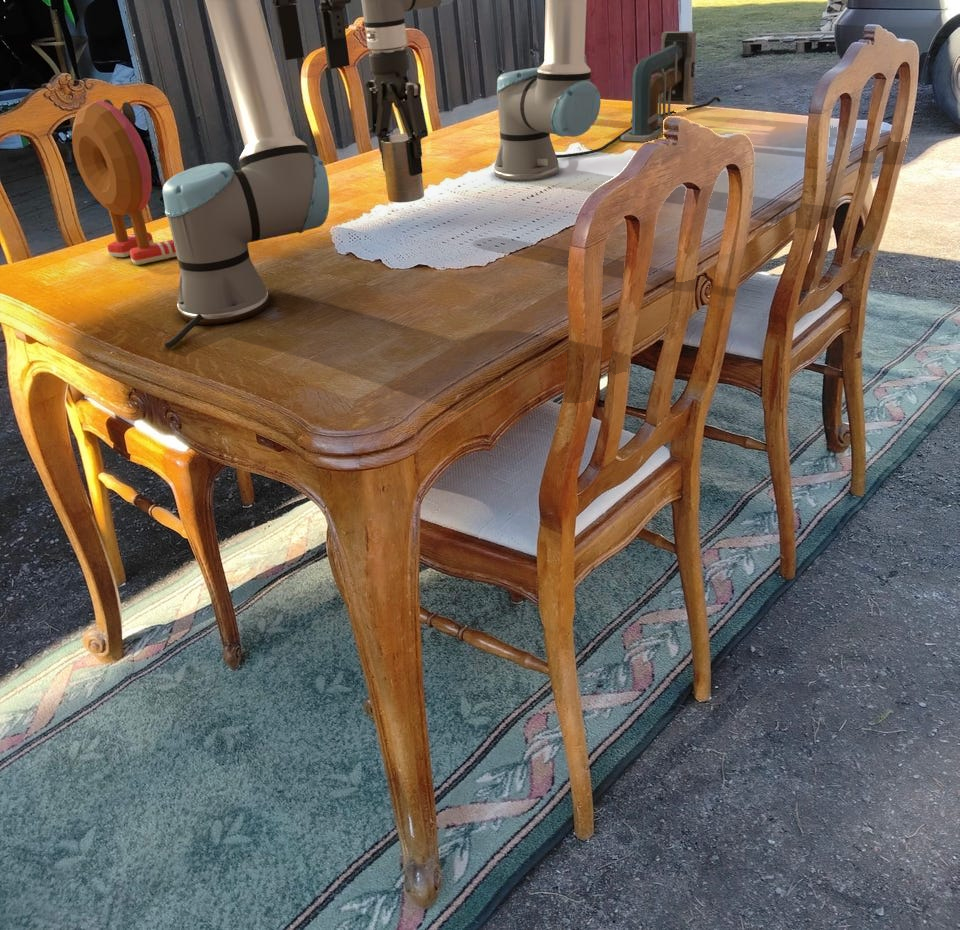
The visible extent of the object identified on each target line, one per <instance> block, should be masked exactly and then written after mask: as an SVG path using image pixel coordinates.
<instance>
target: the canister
mask: <svg viewBox="0 0 960 930" xmlns="http://www.w3.org/2000/svg"><path fill="white" fill-rule="evenodd" d="M389 135H390V136H388V135H387V136H386V137H384V138H382V139H381V147H382V154H383V162H384V169H385V171H384V176H385V184H386V191H387V199H388V201H389V202H392V203H399V204H400V203H401V204H402V203H411V202H416V201H418V200H419V201H420V200H421V199H423V198H424V197H425V189H424V180H423V173H420V174H417V175H414V176H410V169H409V161H408V153H407V144H406V142H407V141H406V140H408V139H409V138H408V135H407V133H396V134H389Z"/></svg>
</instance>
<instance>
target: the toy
mask: <svg viewBox="0 0 960 930" xmlns="http://www.w3.org/2000/svg"><path fill="white" fill-rule="evenodd" d="M121 109H122V111H121V110H120V109H118V108H117V107H115V106H114V104H113V103H112V101H111V100H110V99H108V98H106V99H104V100H100V99H97V100H95V101H93V102H91V103H88V104H86V105H85V106H83V107H81V108H80V109H78V110H77V111H76V114H75V116H74V117H75V118H74V120H73V124H72V130H71V140H72V142H71V143H72V152H73V156H74V160H75V163H76V167H77V170H78V172H79V174H80V176H81V178H82V181H83V182H84V184H85V186H86V188H87V189H88V191H89V192H90V193H91V195H92V196H93V197H94V198H95V199H96V201H97V202H99V203H100V205H101V206H102V207H103V208H105V209H107V211H108V214H109V217H110V221H111V225H112V228H113V233H114V236H115V239H116V240H114V241H112V242H110V243H108V245H107V251H108V255H109V256H110V257H113V258H127V257H129V256H130V260H131V262H132V263H133V264H135V266H137V265H144V264H150V263H154V262H159V261H162V260H163V261H164V260H167V259H172V258H177V254H176V250H175V246H174V241H173V239H170V240H165V241H160V242H156V243H154V237H153V235H152V233H151V232H148V231H147V226H146V225H147V224H146V222H145V218H144V214H143V212H142V211H143V210H144V209H145V208H146V206H147V205H148V203H149V201H150V198H151V194H152V189H153V188H152V168H151V163H150V159H149V155H148V152H147V150H146V146H145V144H144V142H143V140H142V137H141V136H140V134H139V132H138V131H137V129H136V127H135V126H134V125H135V124H136V120H137V119H136V113H135V110H134V108H133V106H132V104H131V103H130V102H128V101H125V102H123V103H122V107H121ZM127 215H128V216H129V218H130V221H131V226H132V230H133V232H132V233H130V234H128V232H127V227H126V223H125V218H124V216H127Z"/></svg>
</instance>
